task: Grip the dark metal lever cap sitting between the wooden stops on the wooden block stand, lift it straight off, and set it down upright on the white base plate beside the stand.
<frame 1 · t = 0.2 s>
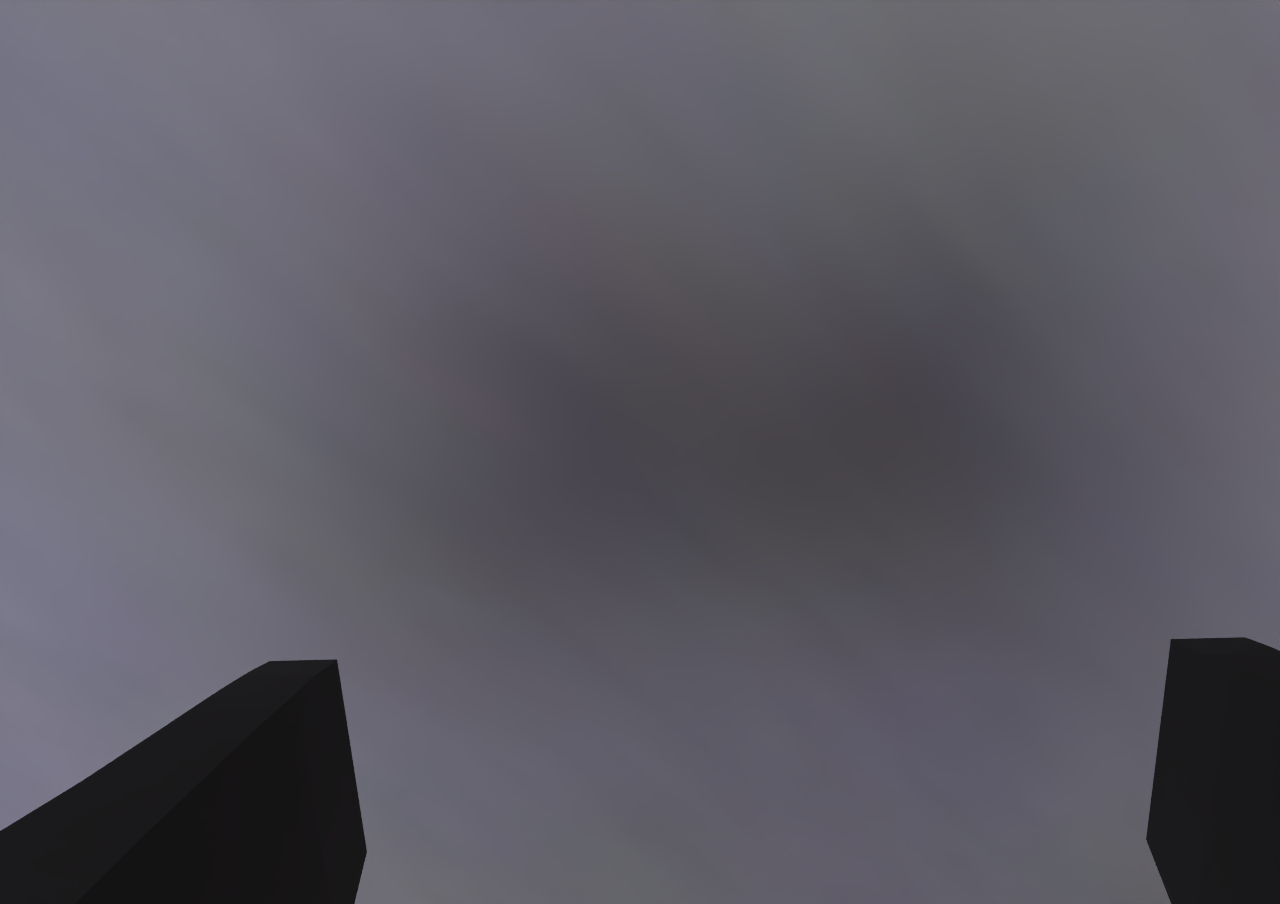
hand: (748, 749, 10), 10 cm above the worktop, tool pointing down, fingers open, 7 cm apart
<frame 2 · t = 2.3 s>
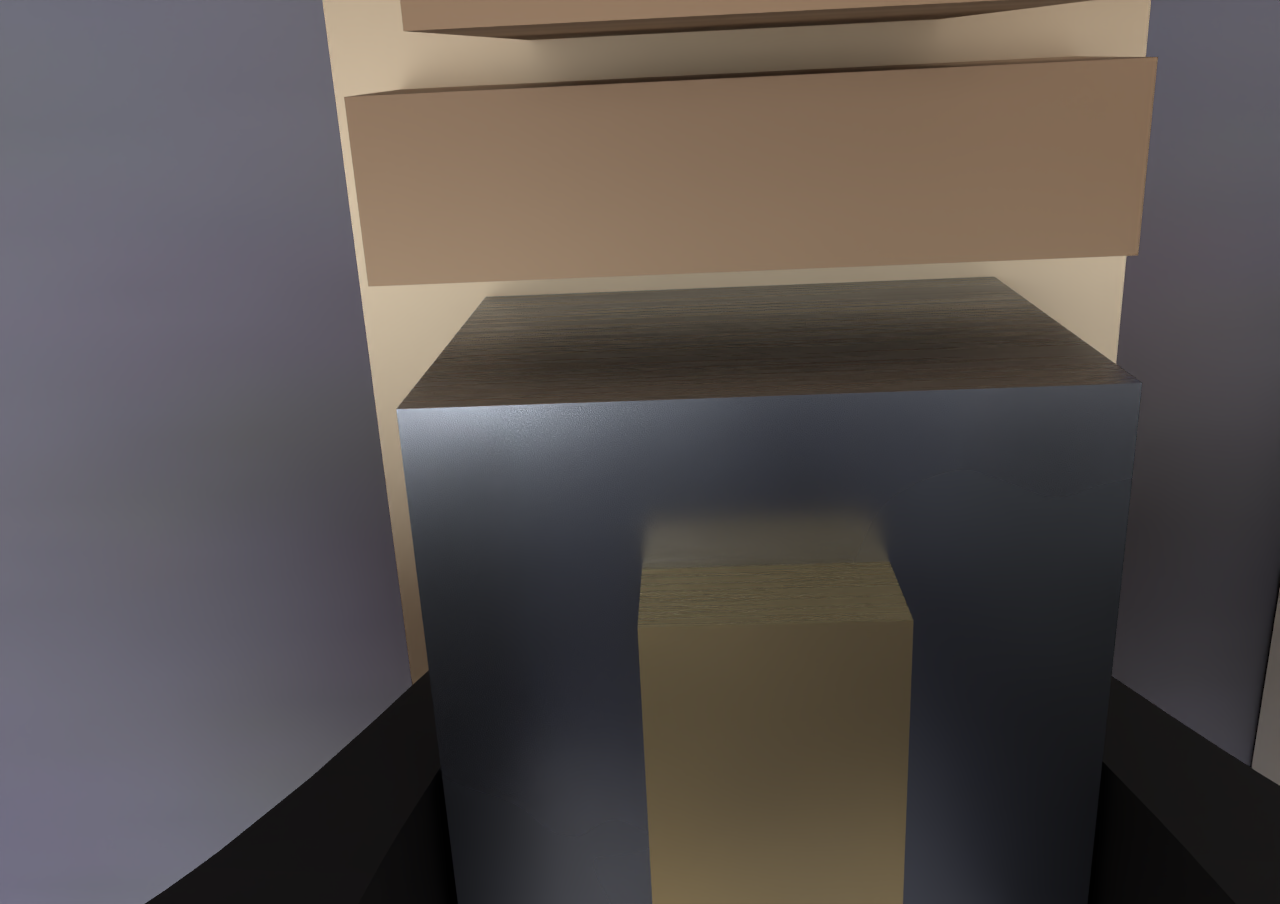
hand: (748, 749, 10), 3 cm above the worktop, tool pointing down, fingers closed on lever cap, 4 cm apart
wooden block stand: (733, 597, 13), on the worktop
lever cap: (745, 723, 10), point 2 cm above the worktop, touching gripper, wooden block stand
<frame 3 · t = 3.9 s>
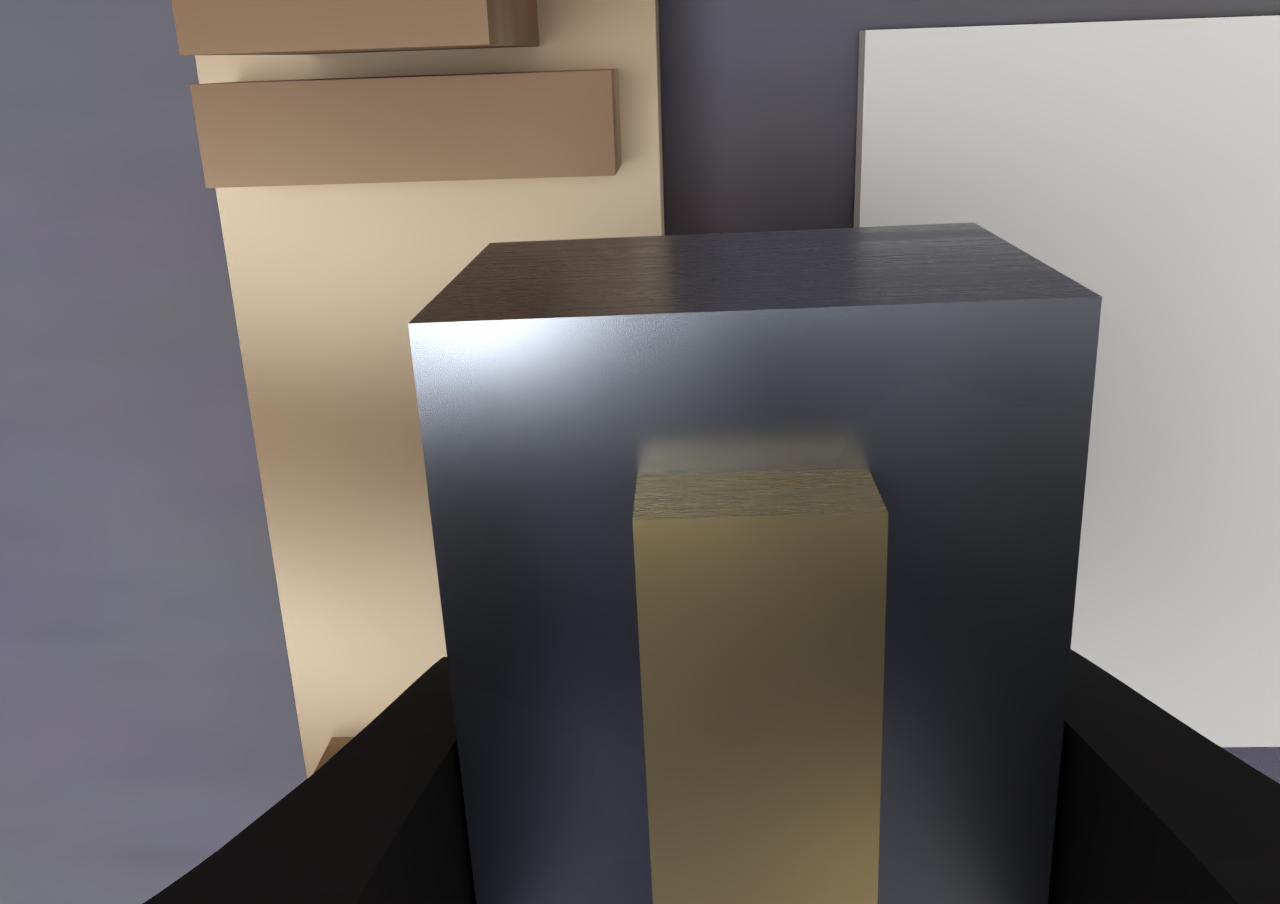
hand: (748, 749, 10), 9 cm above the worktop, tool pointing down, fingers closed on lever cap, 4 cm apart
white base plate: (1219, 410, 18), on the worktop
wooden block stand: (490, 424, 19), on the worktop
lever cap: (738, 658, 11), point 8 cm above the worktop, touching gripper
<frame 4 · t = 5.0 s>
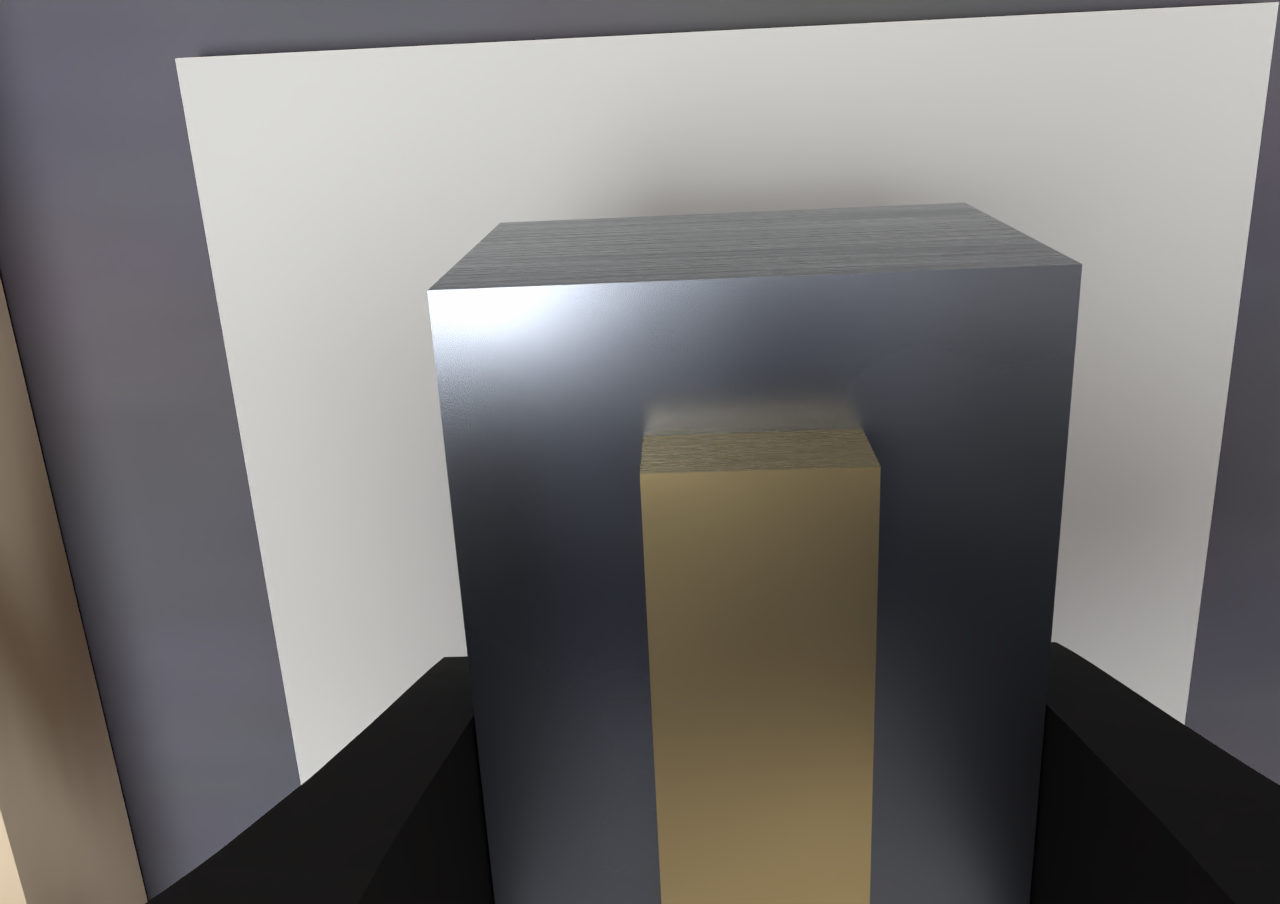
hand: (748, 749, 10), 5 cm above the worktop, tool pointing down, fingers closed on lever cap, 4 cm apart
white base plate: (724, 518, 15), on the worktop
lever cap: (738, 626, 11), point 4 cm above the worktop, touching gripper
when the fingers open (3 cm above the worktop, at t = 5.9 s): lever cap stays where it is, resting on white base plate.
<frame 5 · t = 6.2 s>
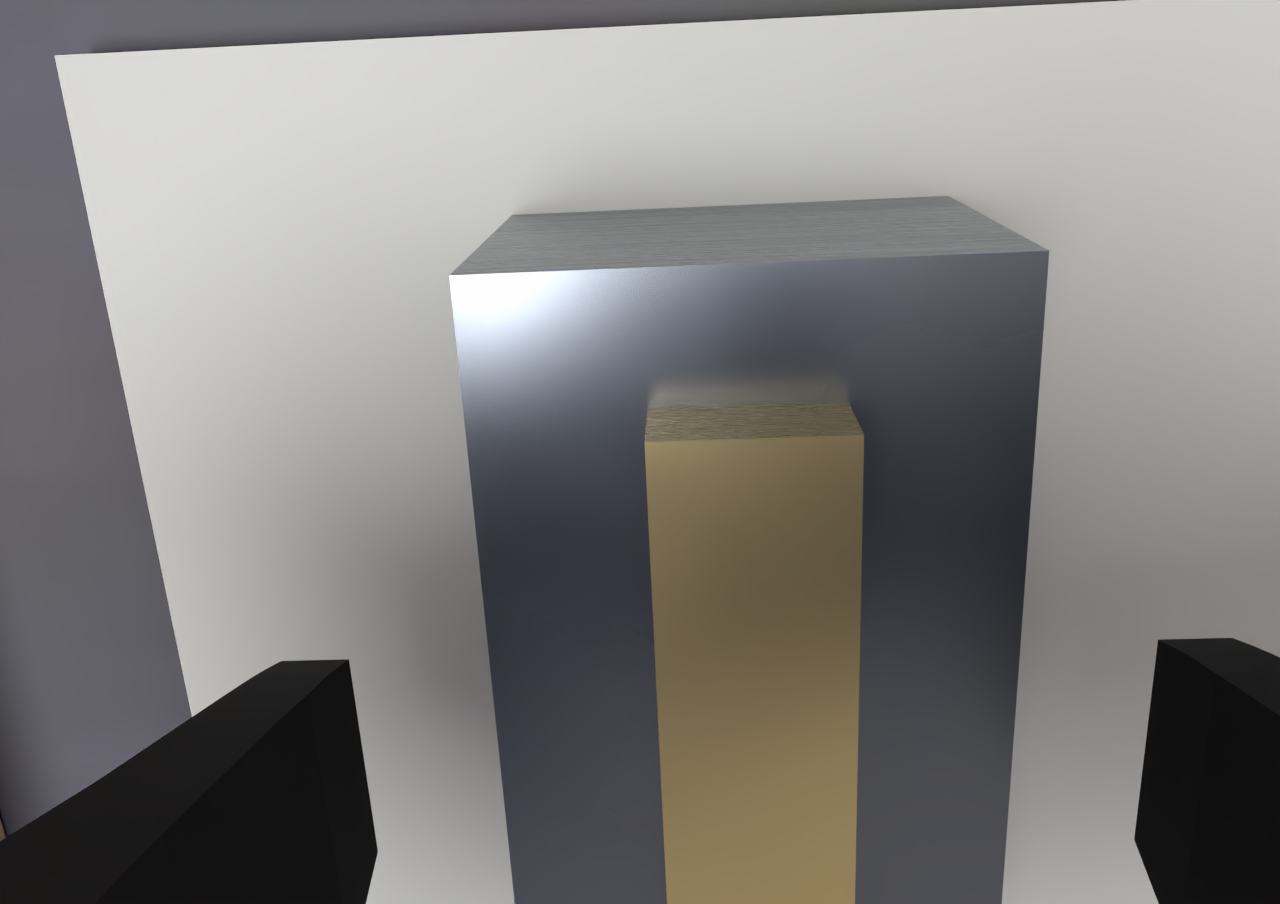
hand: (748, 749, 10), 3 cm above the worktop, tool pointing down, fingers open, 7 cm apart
white base plate: (734, 606, 12), on the worktop
lever cap: (736, 596, 12), point 1 cm above the worktop, touching white base plate
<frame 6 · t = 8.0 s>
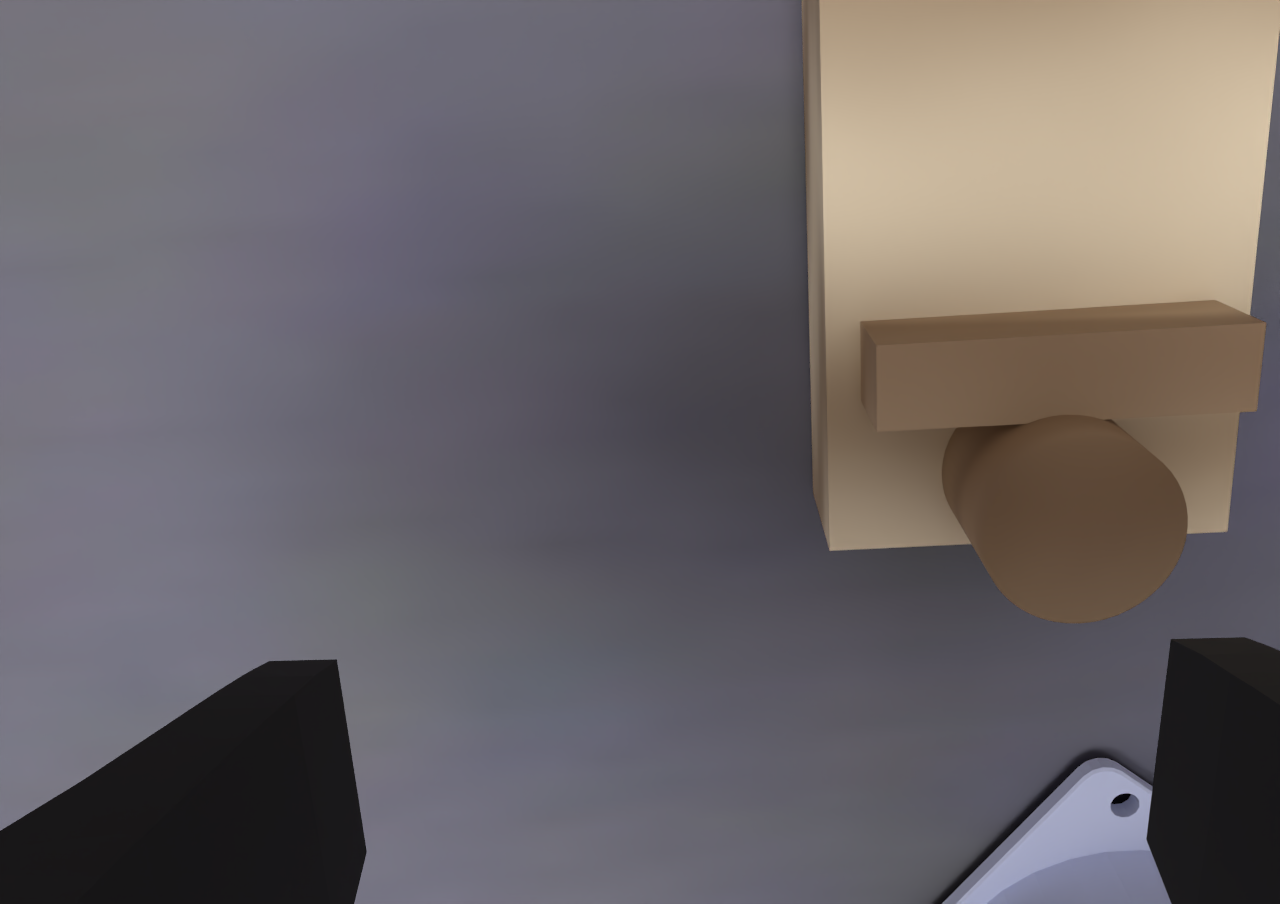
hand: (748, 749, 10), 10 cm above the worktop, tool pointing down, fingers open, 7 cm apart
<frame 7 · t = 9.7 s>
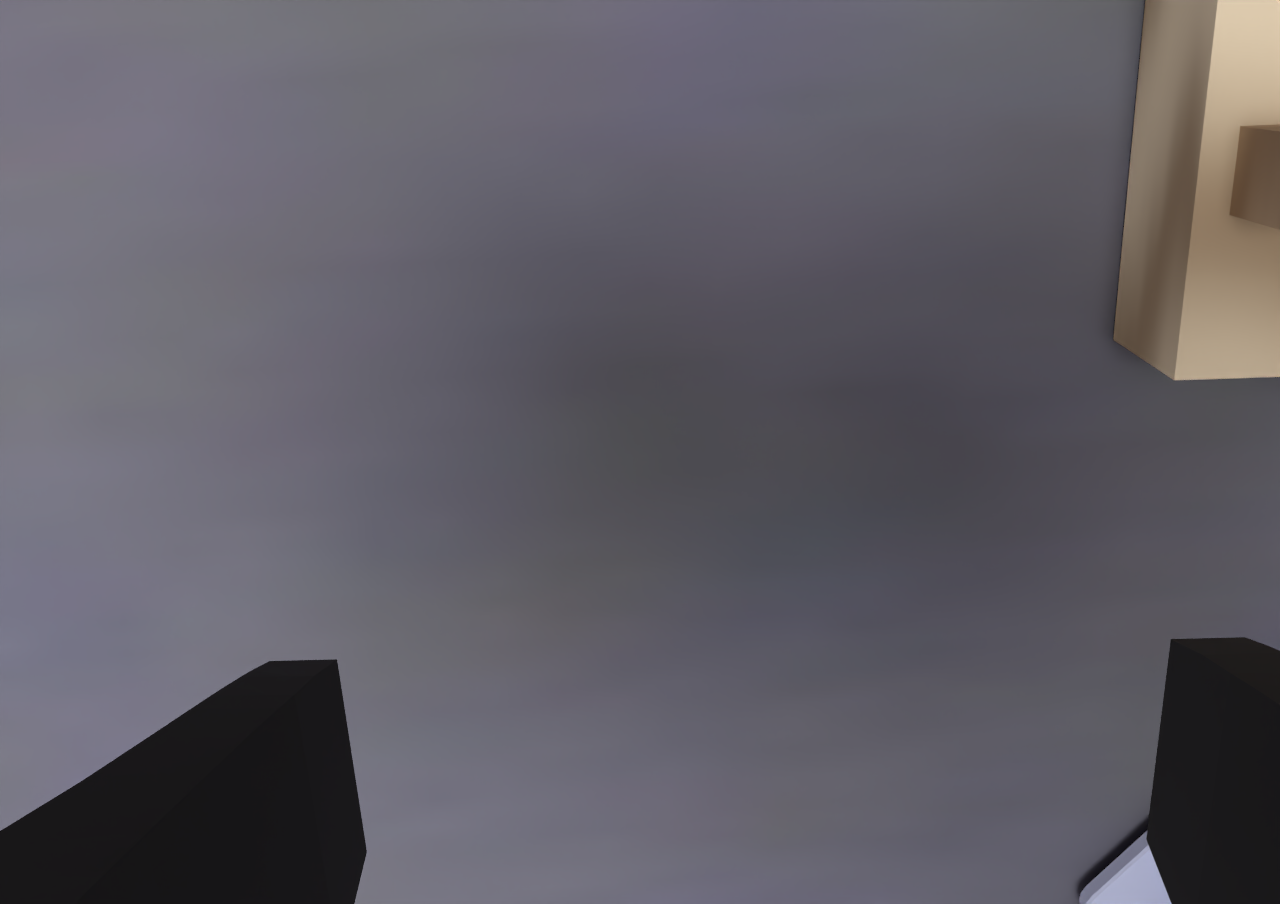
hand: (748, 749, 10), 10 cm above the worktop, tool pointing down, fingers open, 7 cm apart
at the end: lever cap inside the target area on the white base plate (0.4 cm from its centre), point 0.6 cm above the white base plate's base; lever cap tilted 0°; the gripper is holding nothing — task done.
